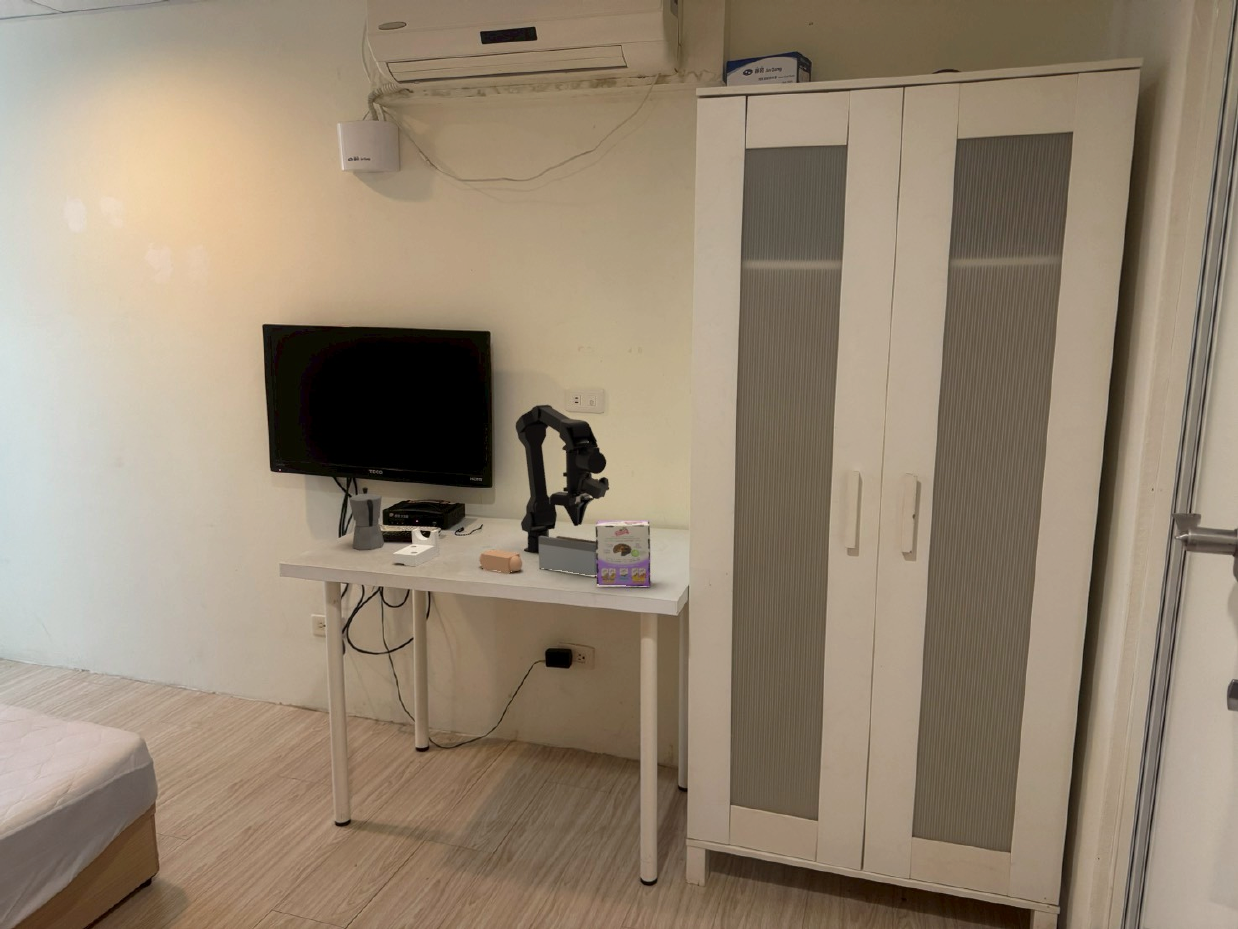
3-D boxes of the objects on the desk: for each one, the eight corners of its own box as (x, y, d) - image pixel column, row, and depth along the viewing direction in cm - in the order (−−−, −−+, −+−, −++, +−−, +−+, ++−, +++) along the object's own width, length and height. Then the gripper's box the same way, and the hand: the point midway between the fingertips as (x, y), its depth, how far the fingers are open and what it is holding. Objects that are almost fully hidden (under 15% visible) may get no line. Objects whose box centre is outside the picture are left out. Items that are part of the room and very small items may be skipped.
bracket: (417, 553, 257) (416, 528, 255) (439, 555, 254) (438, 530, 253) (393, 565, 244) (391, 539, 243) (415, 567, 242) (414, 541, 241)
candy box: (650, 581, 228) (650, 519, 225) (650, 588, 222) (650, 524, 219) (597, 581, 228) (596, 519, 226) (595, 588, 223) (595, 524, 220)
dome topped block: (487, 563, 245) (486, 548, 244) (526, 570, 238) (526, 554, 237) (475, 568, 240) (474, 552, 239) (515, 575, 234) (514, 559, 233)
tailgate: (541, 567, 240) (541, 535, 239) (597, 576, 232) (596, 543, 230) (539, 568, 239) (538, 536, 237) (594, 577, 230) (594, 544, 229)
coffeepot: (348, 543, 268) (345, 485, 265) (380, 539, 272) (377, 482, 269) (357, 555, 254) (353, 494, 251) (390, 551, 258) (386, 491, 255)
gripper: (584, 476, 223) (584, 536, 226) (620, 465, 239) (620, 521, 242) (547, 473, 229) (548, 531, 231) (585, 462, 245) (586, 517, 247)
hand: (577, 525), depth 238 cm, fingers closed
